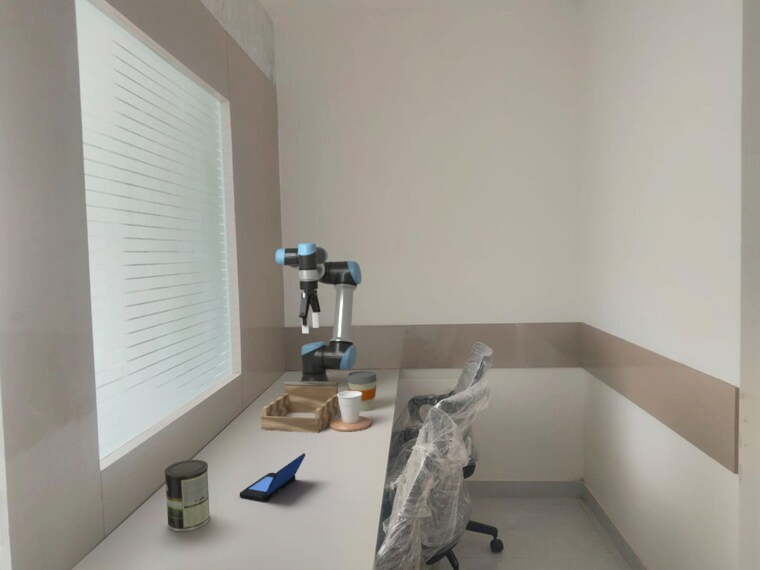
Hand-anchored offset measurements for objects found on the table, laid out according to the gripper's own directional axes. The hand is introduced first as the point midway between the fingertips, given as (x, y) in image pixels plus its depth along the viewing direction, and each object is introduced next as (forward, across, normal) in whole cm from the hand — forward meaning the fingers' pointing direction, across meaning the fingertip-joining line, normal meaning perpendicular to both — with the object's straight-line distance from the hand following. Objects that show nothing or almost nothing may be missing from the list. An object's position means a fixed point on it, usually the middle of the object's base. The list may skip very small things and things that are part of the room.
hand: (311, 330), depth 229 cm
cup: (+33, +17, +20) cm, 42 cm away
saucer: (+34, +17, +20) cm, 43 cm away
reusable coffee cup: (+35, -5, +20) cm, 41 cm away
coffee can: (+32, +96, -2) cm, 102 cm away
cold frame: (+34, +14, -1) cm, 37 cm away
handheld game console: (+33, +76, +12) cm, 84 cm away
